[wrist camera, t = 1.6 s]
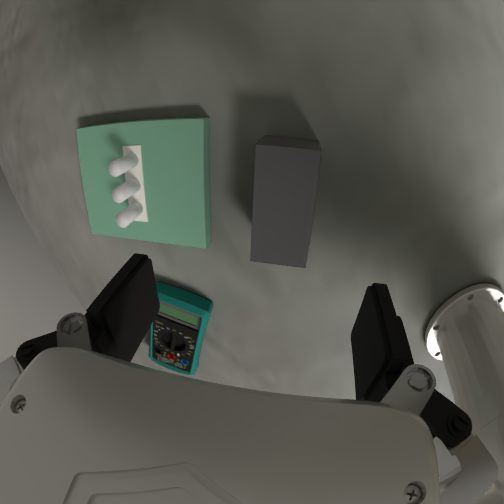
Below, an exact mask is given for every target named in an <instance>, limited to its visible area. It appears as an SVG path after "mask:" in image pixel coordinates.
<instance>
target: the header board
mask: <svg viewBox="0 0 504 504" xmlns="http://www.w3.org/2000/svg"><path fill="white" fill-rule="evenodd" d="M76 130H77V142H78V152H79V160H80V168H81V175H82V182H83V188H84V195H85V200H86V206H87V211H88V216H89V221H90V226H91V230H92V234H98V235H106V236H114V237H121V238H129V239H137V240H144V241H152V242H160V243H168V244H175V245H183V246H191V247H199V248H207V246H208V245H209V243H210V242H211V230H210V183H209V117H198V118H165V119H148V120H135V121H125V122H115V123H107V124H99V125H92V126H85V127H82V128H78V129H76Z"/></svg>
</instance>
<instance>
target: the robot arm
mask: <svg viewBox="0 0 504 504" xmlns="http://www.w3.org/2000/svg"><path fill="white" fill-rule="evenodd" d="M159 309H160V303H159V298H158V293H157V288H156V283H155V277H154V272H153V266H152V261H151V259H149V258H148V256H147V255H144V254H137V253H136V254H134V255H133V256H132V257H131V258H130V259H129V260H128V261H127V262H126V263H125V265H124V266H123V267H122V268H121V269H120V270H119V271H118V273H117V274H116V275H115V276H114V277H113V278H112V280H111V281H110V282H109V283H108V284H107V286H106V287H105V288H104V289H103V290H102V292H101V293H100V294H99V295H98V296H97V298H96V299H95V300H94V301H93V303H92V304H91V305H90V306H89V308H88V309H87V310H86V311H87V313H86V314H85V316H84V315H83V314H81V313H70V314H67V315H66V316H64V317H62V318H61V320H60V321H59V322H58V324H57V331H55V332H52V333H49V334H46V335H43V336H40V337H37V338H34V339H31V340H28V341H26V342H24V343H23V344H22V345H20V347H19V348H18V350H17V352H16V357H13V356H11V357H9V358H7V359H6V360H4V361H3V362H1V363H0V504H504V294H503V292H502V291H501V289H500V288H498V287H497V286H495V285H493V284H487V283H483V284H477V285H473V286H470V287H468V288H466V289H463V290H461V291H460V292H458V293H456V294H455V295H453V296H452V297H451V298H450V299H448V300H447V301H446V302H445V303H444V304H443V305H442V306H441V307H440V308H439V309H438V310H437V311H436V313H435V314H434V315H433V317H432V318H431V320H430V322H429V323H428V326H427V329H426V332H425V344H426V347H427V350H428V352H429V354H430V355H431V356H432V357H434V358H436V359H438V360H443V362H444V365H445V368H446V372H447V375H448V379H449V382H450V386H451V389H452V393H453V397H454V401H455V404H454V403H453V402H451V401H450V400H449V399H447V398H446V397H445V396H443V395H442V394H441V393H439V392H438V391H437V390H435V386H436V379H435V376H434V374H433V373H432V371H431V370H430V369H428V368H427V367H425V366H423V365H420V364H414V361H413V358H412V354H411V350H410V346H409V343H408V339H407V336H406V332H405V329H404V326H403V322H402V319H401V317H399V316H397V315H396V312H395V309H394V306H393V303H392V299H391V296H390V293H389V290H388V287H387V285H386V284H379V283H373V284H372V286H368V287H367V290H366V293H365V296H364V299H363V302H362V304H361V307H360V310H359V313H358V316H357V319H356V321H355V324H354V327H353V329H352V333H351V344H352V354H353V364H354V376H355V390H356V400H351V399H335V398H322V397H310V396H300V395H290V394H281V393H273V392H266V391H259V390H252V389H246V388H240V387H234V386H228V385H223V384H217V383H212V382H207V381H202V380H198V379H193V378H189V377H184V376H180V375H176V374H172V373H168V372H164V371H160V370H156V369H152V368H149V367H145V366H141V365H138V364H134V363H131V362H130V361H131V360H132V358H133V356H134V354H135V352H136V351H137V349H138V347H139V345H140V343H141V342H142V340H143V338H144V336H145V335H146V333H147V331H148V329H149V328H150V326H151V324H152V322H153V321H154V319H155V317H156V315H157V314H158V312H159ZM439 477H440V482H439ZM492 484H494V485H495V488H494V489H493V490H491V491H490V492H488V493H486V494H484V493H485V492H486V491H487V490H488V489H489V487H490V486H491V485H492ZM407 485H408V486H407ZM483 494H484V495H483ZM482 495H483V496H482Z"/></svg>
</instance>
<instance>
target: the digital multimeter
mask: <svg viewBox="0 0 504 504" xmlns="http://www.w3.org/2000/svg"><path fill="white" fill-rule="evenodd" d="M156 288H157V293H158V298H159V303H160V309H159V312H158V314H157V315H156V317H155V319H154V321H153V322H152V324H151V326H150V345H149V357H150V358H151V360H152V361H154V362H156V363H158V364H160V365H162V366H164V367H166V368H168V369H171V370H173V371H176V372H179V373H183V374H187V375H194V374H195V372H196V370H197V367H198V363H199V356H200V351H201V346H202V341H203V337H204V333H205V330H206V326H207V323H208V320H209V317H210V314H211V311H212V308H213V303H212V302H211V301H209V300H207V299H205V298H202V297H200V296H198V295H196V294H193V293H191V292H188V291H186V290H183V289H180V288H177V287H174V286H171V285H168V284H164V283H161V282H157V283H156ZM192 359H193V360H192Z"/></svg>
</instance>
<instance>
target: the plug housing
mask: <svg viewBox="0 0 504 504" xmlns="http://www.w3.org/2000/svg"><path fill="white" fill-rule="evenodd" d="M320 160H321V148H320V145H319V141H314V140H306V139H297V138H287V137H276V136H264V137H263V138H262V139H261V140H260V141H259V142H258V143H257V144H256V145H255V168H254V190H253V212H252V235H251V258H250V261H254V262H262V263H270V264H277V265H285V266H293V267H301V268H306V261H307V255H308V249H309V243H310V236H311V229H312V223H313V216H314V208H315V201H316V193H317V186H318V177H319V169H320Z"/></svg>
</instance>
